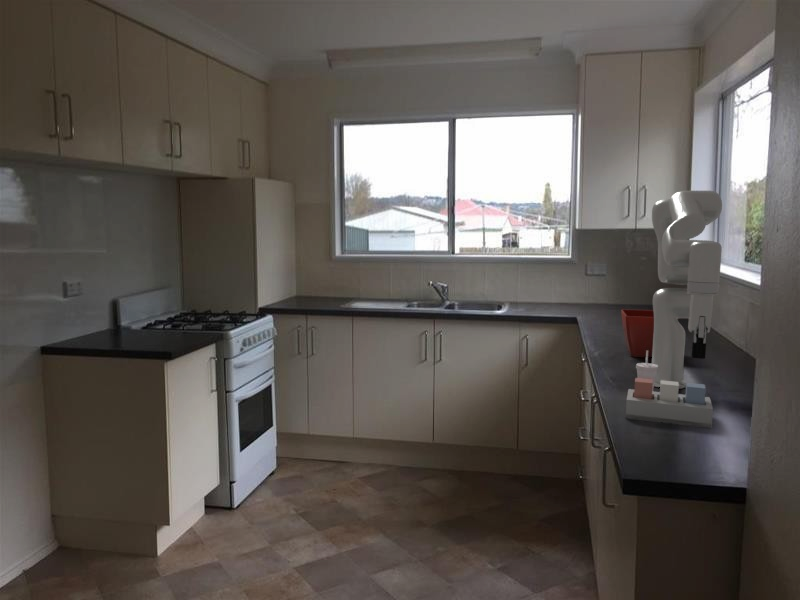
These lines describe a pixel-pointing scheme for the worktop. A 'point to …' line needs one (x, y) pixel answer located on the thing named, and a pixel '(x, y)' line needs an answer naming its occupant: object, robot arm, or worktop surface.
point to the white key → (669, 391)
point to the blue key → (695, 393)
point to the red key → (643, 388)
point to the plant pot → (638, 331)
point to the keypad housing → (669, 410)
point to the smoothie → (647, 370)
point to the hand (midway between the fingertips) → (698, 357)
